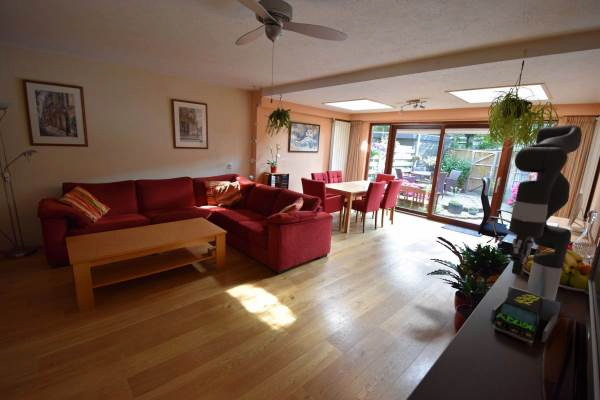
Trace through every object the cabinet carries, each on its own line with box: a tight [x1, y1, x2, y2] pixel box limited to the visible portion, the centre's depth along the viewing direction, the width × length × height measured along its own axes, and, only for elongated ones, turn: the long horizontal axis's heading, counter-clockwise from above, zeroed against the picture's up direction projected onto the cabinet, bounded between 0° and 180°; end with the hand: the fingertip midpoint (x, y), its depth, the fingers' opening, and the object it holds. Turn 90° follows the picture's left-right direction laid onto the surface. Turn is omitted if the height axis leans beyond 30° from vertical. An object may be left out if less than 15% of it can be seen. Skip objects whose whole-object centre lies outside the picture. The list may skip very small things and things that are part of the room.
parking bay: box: [490, 285, 562, 343], centre depth 98 cm, size 19×15×8 cm
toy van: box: [492, 287, 543, 347], centre depth 95 cm, size 11×25×10 cm, turn 133°
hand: (516, 274), depth 79 cm, fingers closed
